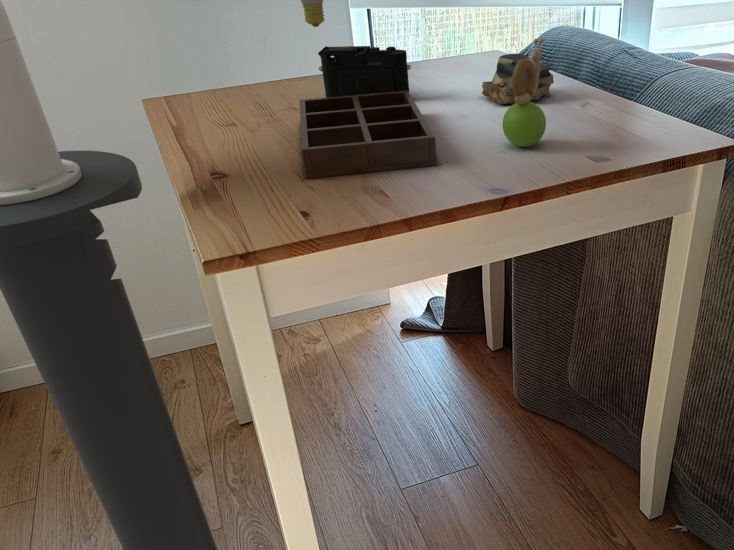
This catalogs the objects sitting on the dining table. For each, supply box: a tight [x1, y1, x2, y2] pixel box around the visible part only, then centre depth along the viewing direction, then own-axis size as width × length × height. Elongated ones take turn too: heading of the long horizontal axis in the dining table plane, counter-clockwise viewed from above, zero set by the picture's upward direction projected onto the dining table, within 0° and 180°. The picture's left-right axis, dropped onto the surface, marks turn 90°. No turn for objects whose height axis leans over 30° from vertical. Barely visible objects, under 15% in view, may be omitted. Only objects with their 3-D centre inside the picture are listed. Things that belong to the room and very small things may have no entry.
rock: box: [481, 53, 554, 105], centre depth 105 cm, size 9×9×6 cm
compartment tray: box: [298, 91, 438, 179], centre depth 89 cm, size 15×23×3 cm
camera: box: [317, 45, 412, 98], centre depth 107 cm, size 14×7×8 cm, turn 86°
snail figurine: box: [502, 38, 547, 148], centre depth 85 cm, size 5×6×12 cm
